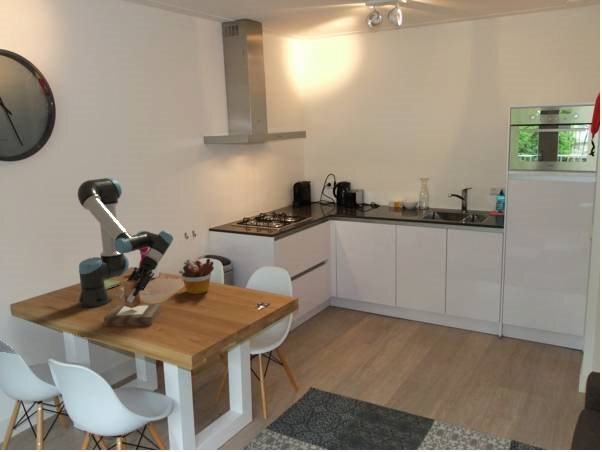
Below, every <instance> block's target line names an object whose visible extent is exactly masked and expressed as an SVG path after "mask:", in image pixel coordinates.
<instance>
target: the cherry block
mask: <svg viewBox="0 0 602 452" xmlns="http://www.w3.org/2000/svg"><path fill="white" fill-rule="evenodd" d="M138 282H139V280H138V281H135V280H130V281H127V280H126V281H123V282H122V283H123V285H122V287H123V292H124V296H125V301H124V305H125V306H126V307H129V308H134V307H137V306H140V305H141V299H140V298H141V297H140V296H141V295H140V292H139V293H138V294H137V296H136V297H135V298H134V300H133V301H132V303H130V302H129V301H127V299H128V297H129V296H130V294H131V292H132V291H133V289H134V288H135V287H136V286H137V284H138ZM135 289H136V288H135Z"/></svg>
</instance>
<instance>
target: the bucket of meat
mask: <svg viewBox="0 0 602 452" xmlns="http://www.w3.org/2000/svg"><path fill="white" fill-rule="evenodd" d="M190 261H191V260H190V259H189V258H187V259H186V260H185V261H184V262H183V265H184V266H182V268H183V269H180V270H179V271H178V274H180V275H181V278H182V280H183V285H184V287H185V291H186V292H187V293H188V294H190V295H201V294H202V295H203V294H204V293H207V292H208V290H209V287H210V281H211V276H212V272H213V271H214V269H215V268H214V261H211V258H207V259H206V262H204V261H203V260H201V259H195V261H191V262H190Z"/></svg>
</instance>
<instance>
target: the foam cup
mask: <svg viewBox="0 0 602 452" xmlns="http://www.w3.org/2000/svg"><path fill="white" fill-rule="evenodd" d="M159 271H160V262H159V263H158V265H157V266H156V268H155V269H154V270H152V272H153V273H154V275H153V277H156V276H158V277H159V275H160V273H159ZM153 277H152V278H153Z"/></svg>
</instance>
